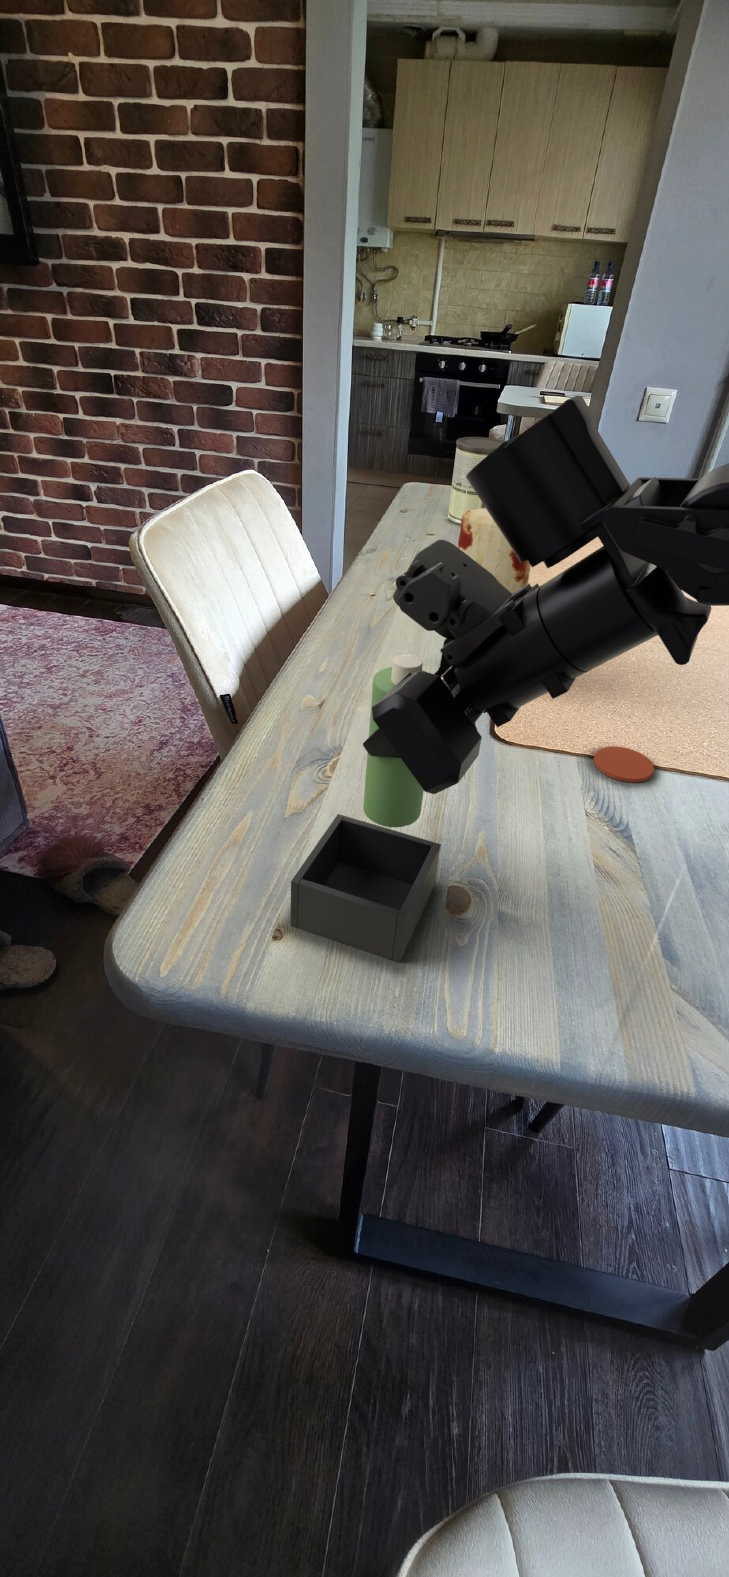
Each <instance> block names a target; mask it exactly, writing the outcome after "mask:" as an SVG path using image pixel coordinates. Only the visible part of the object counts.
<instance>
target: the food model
mask: <svg viewBox="0 0 729 1577" xmlns="http://www.w3.org/2000/svg"><path fill="white" fill-rule="evenodd" d="M459 530H460V531H459V535H458V539H457V544H456V547H458V548H459V549H460V550H461V551H463V552H464V553H465V554H467V555H468V556H469V557H471V558H472V559H473V560H474V561H476V562H477V563H478V564H480V565H481V566H482V567H483V568H485V569H486V570H487V571H489V572H490V573H491V574H492V575H493V576H494V577H495V578H496V579H497V580H498V582H499V583H500V584H502V585H503V586H504V587H505V588H506V589H507V590H509V591H510V592H511V593H512V594H513V593H514V592H516V591H518V590H519V589H521V588H522V587H524V586H525V585H527V584H529V580H530V573H531V568H532V566H531V565H530V563H529V562H528V560H526V561H524V562H520V560H519V559H518V557H517V556H516V554H515V553H514V551H513V550H512V548H511V546H510V545H509V543H508V542H507V540H506V539H505V537H504V536H503V534H502V533H501V531H500V529H499V528H498V526H497V525H496V523H495V522H494V520H493V519H492V517H491V515H490V514H489V512H488V511H487V509H486V508H481V509H476V510H468V511H465V512H464V513H463V515H462V521H461V524H460V528H459ZM443 638H444V640H443V642H444V641H445V639H446V638H445V637H443Z"/></svg>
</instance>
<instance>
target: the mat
mask: <svg viewBox="0 0 729 1577" xmlns="http://www.w3.org/2000/svg"><path fill="white" fill-rule="evenodd" d="M593 764H594V766H595V767H596V769H597V770H598V771H599V772H600V773H602V774H603V775H605V776H607V777H608V778H611V779H613V780H615V781H619V782H624V783H632V784H634V783H635V784H637V783H642V782H645V781H648V780H649V779H651V777H653V774H654V771H655V767H654V764H653V762H652V761H651V759H649V758H648V757H647V756H646V755H644V754H643V753H640V752H639V751H636V750H634V749H632V748H627V747H623V746H605V747H601V748H600V749H598V750H597V751H596V752H595V753H594V758H593Z"/></svg>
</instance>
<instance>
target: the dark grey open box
mask: <svg viewBox="0 0 729 1577" xmlns="http://www.w3.org/2000/svg"><path fill="white" fill-rule="evenodd" d="M441 848H442V844H441V843H439V842H434V841H432V840H429V839H425V838H421V837H418V836H414V835H411V834H408V833H404V832H401V831H398V830H394V829H391V828H389V827H385V826H382V825H378V824H373V823H370V822H367V821H364V820H360V819H357V818H353V817H350V816H348V815H347V816H346V815H343V814H340V813H337V815H336V816H335V817H334V818H333V820H332V822H331V823H330V824H329V826H328V827H327V829H326V830H325V832H324V833H323V834H322V836H321V837H320V839H319V840H318V842H317V843H316V844H315V846H314V847H313V849H312V850H311V852H310V853H309V855H308V856H307V857H306V858H305V860H304V862H303V863H302V865H301V866H300V868H299V869H298V870H297V872H296V873H295V875H294V876H293V877H292V879H291V880H290V927H293V928H296V929H298V930H302V931H304V932H308V933H311V934H313V935H316V936H319V937H323V938H325V939H328V940H330V941H334V942H337V943H340V944H342V945H346V946H348V947H352V948H354V949H357V950H360V951H363V952H366V953H369V954H372V955H374V956H377V957H380V958H383V959H386V960H389V961H391V962H395V963H398V964H400V963H401V961H402V959H403V956H404V954H405V952H406V950H407V947H408V946H409V943H410V941H411V939H412V937H413V934H414V932H415V930H416V928H417V925H418V924H419V922H420V919H421V917H422V915H423V912H424V910H425V909H426V906H427V904H428V901H429V899H430V897H431V894H432V892H433V891H434V888H435V883H436V878H437V872H438V864H439V859H440V853H441Z"/></svg>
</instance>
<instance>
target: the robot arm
mask: <svg viewBox="0 0 729 1577" xmlns="http://www.w3.org/2000/svg"><path fill="white" fill-rule="evenodd" d="M504 441H505V442H504V443H502V444H501V445H500V446H499V447H497V448H496V449H495V450H494V451H492V452H491V453H490V454H489V455H488V456H486V457H485V458H484V459H483V460H482V461H481V462H480V463H478V464H477V465H476V466H475V467H474V468H473V469H472V470H471V471H470V472H469V473H468V474H467V475H466V478H467V480H468V481H469V483H470V484H471V486H472V488H473V489H474V491H475V492H476V494H477V495H478V497H479V498H480V500H481V501H482V503H483V505H484V506H485V508H486V509H487V511H488V512H489V514H490V515H491V517H492V519H493V520H494V522H495V523H496V525H497V526H498V528H499V529H500V531H501V533H502V534H503V536H504V537H505V539H506V540H507V542H508V543H509V545H510V546H511V548H512V550H513V551H514V553H515V554H516V556H517V557H518V559H519V560H520V562H524V561H526V560H528V562H529V563H530V565H531V568H534V567H536V566H538V565H539V564H541V563H543V564H544V565H545V567H546V568H547V569H550V568H552V567H553V566H555V565H557V564H559V563H561V562H562V561H564V560H565V559H567V558H569V557H570V556H571V555H574V554H575V553H577V552H578V551H579V550H581V549H582V548H584V547H586V545H588V544H589V543H591V542H592V541H594V540H595V539H597V538H598V540H599V541H600V543H601V544H602V546H601V547H599V548H597V549H595V551H593V552H592V553H589V555H587V556H585V557H584V558H582V559H581V560H579V561H577V562H576V563H574V564H573V565H571V566H569V567H568V568H566V569H565V570H563V571H561V572H560V573H558V574H557V575H556V576H553V578H551V579H549V580H547V581H546V582H544V583H543V584H541V585H539V583H535V584H534V585H532V586H531V584H530V583H528V584H527V585H525V586H524V587H522V588H521V589H519V590H518V591H516V592H514V593H513V594H512V593H511V592H510V591H509V590H507V589H506V588H505V587H504V586H503V585H502V584H500V583H499V582H498V580H497V579H496V578H495V577H494V576H493V575H492V574H491V573H490V572H489V571H487V570H486V569H485V568H483V567H482V566H481V565H480V564H478V563H477V562H476V561H474V560H473V559H472V558H471V557H469V556H468V555H467V554H465V553H464V552H463V551H461V550H460V549H459V548H458V547H457V545H455V544H453V543H452V542H450V541H448V540H446V539H437V540H435V541H433V542H432V543H430V544H428V545H427V546H426V547H424V548H423V549H421V550H419V551H418V552H417V553H416V554H415V556H414V558H413V560H412V561H411V563H410V564H409V567H408V568H407V570H406V571H405V572H403V573H401V574H400V575H399V576H398V577H397V578H396V579H395V586H396V588H395V591H394V592H393V593H392V599H393V601H394V603H395V604H396V605H397V607H399V610H400V611H401V612H402V613H404V614H405V615H406V616H408V618H410V619H411V620H413V621H414V622H415V623H416V624H417V625H419V626H420V627H421V628H423V629H424V630H425V631H427V632H432V631H434V632H435V633H437V634H438V635H439V636H441V637H443V638H444V637H445V638H446V639H445V641H444V640H443V645H442V648H440V649H439V651H440V653H441V657H440V662H439V667H438V669H437V670H436V671H435V672H434V673H431V672H428V671H426V672H424V671H425V670H424V671H421V670H418V671H417V672H415V673H414V674H411V672H410V673H409V674H408V675H407V676H406V677H404V678H403V679H402V680H401V681H400V682H399V683H398V684H397V685H396V686H395V687H394V688H392V689H391V690H390V691H389V692H388V693H387V694H386V695H385V696H384V697H382V698H381V699H380V700H379V701H378V702H377V703H376V704H375V705H374V706H373V707H372V714H373V720H374V722H375V723H376V724H377V726H378V727H379V728H378V729H377V730H376V731H375V732H374V733H373V734H372V735H371V736H370V737H369V736H368V737H367V739H365V741H364V742H363V743H362V747H363V748H364V749H365V751H366V753H369V755H370V756H375V757H390V758H401V759H402V761H403V762H404V763H405V765H406V766H407V768H408V769H409V770H410V772H411V773H412V775H413V776H414V777H415V779H416V780H417V781H418V783H419V784H420V786H421V787H422V788H423V790H424V792H425V793H428V794H432V795H436V794H438V793H440V792H442V791H444V790H447V789H449V788H451V787H453V786H455V785H457V784H459V783H460V781H461V780H462V779H463V777H464V776H465V774H466V773H467V772H468V770H469V769H470V768H471V766H472V765H473V764H474V762H475V761H476V759H477V758H478V757H479V755H480V750H481V743H482V738H483V737H482V735H481V734H480V732H479V730H478V728H477V724H476V722H477V721H478V720H479V718H480V717H481V716H482V714H485V713H487V715H488V716H489V717H490V719H491V721H492V722H493V723H494V725H495V727H496V728H499V727H502V726H503V725H505V724H507V723H509V722H511V721H512V719H513V718H514V717H515V715H516V714H517V712H518V711H519V710H520V709H521V707H523V706H525V705H526V704H529V703H531V702H532V701H535V700H537V699H538V698H540V697H542V696H544V695H547V694H549V695H550V697H551V699H552V700H554V699H556V698H558V697H560V696H562V695H564V694H566V693H568V692H569V691H570V688H571V687H572V686H573V684H574V682H575V680H576V679H577V678H579V677H581V676H582V675H585V674H586V673H588V672H590V671H592V670H594V669H596V668H598V667H600V666H601V665H604V664H606V663H607V662H609V661H611V660H613V659H616V658H617V657H619V656H621V655H622V654H624V653H627V652H629V651H630V650H632V649H634V648H636V647H638V646H640V645H642V644H644V643H646V642H648V641H650V640H651V639H653V638H655V637H657V636H658V637H659V639H660V640H661V642H662V643H663V645H664V647H665V649H666V650H667V652H668V653H669V655H670V657H671V658H672V660H673V661H674V663H675V664H676V665H679V666H685V665H687V664H688V663H689V662H690V660H691V657H692V655H693V652H694V649H695V645H696V643H697V640H698V636H699V634H700V633H701V631H702V629H703V628H704V627H705V625H707V623H708V621H709V618H710V615H711V612H712V607H721V606H722V607H724V606H729V462H727V463H725V464H723V465H720V466H718V467H716V468H713V469H712V470H710V471H709V472H707V473H706V474H705V475H703V476H701V477H700V478H686V477H685V478H684V477H656V476H654V477H645V476H643V477H637V478H634V480H632V482H629V481H628V479H627V478H626V476H625V474H624V472H623V471H622V469H621V467H620V466H619V464H618V462H617V460H616V459H615V457H614V456H613V454H612V452H611V451H610V449H609V447H608V446H607V444H606V442H605V441H604V439H603V437H602V435H601V434H600V432H599V429H598V426H597V423H596V420H595V416H594V414H593V412H592V411H591V409H590V407H589V405H588V403H586V401H585V399H584V398H583V396H582V395H575V396H573V397H570V398H568V399H566V400H565V401H564V402H562V403H561V404H560V405H558V406H557V407H556V408H555V409H554V410H552V411H551V412H550V413H548V414H547V415H546V416H544V417H542V418H541V419H540V420H538V421H536V422H535V423H534V424H532V425H531V426H530V427H528V428H527V429H526V430H524V431H523V432H521V433H519V434H517V435H515V436H513V437H511V438H509V439H507V440H504ZM684 593H685V594H687V595H688V596H690V597H691V598H693V599H695V600H693V599H691V598H689V597H687V596H686V595H685V594H684Z"/></svg>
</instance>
